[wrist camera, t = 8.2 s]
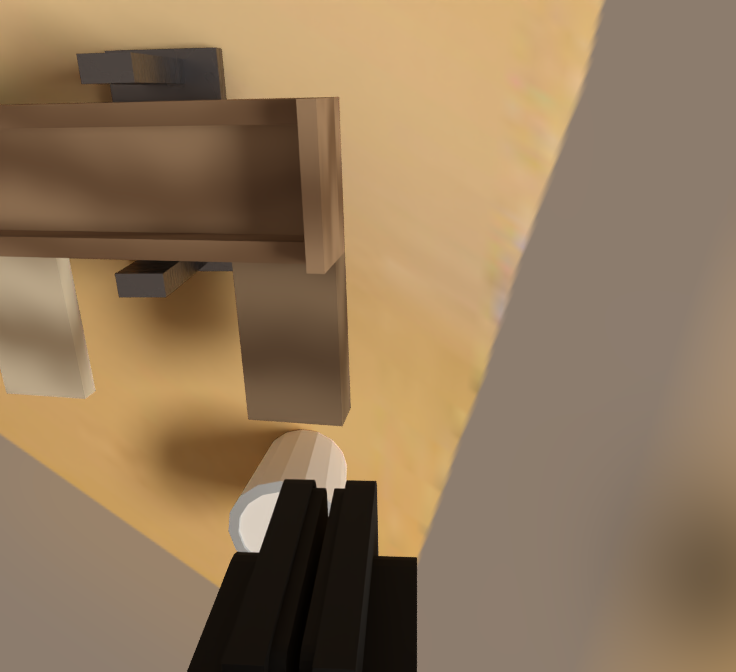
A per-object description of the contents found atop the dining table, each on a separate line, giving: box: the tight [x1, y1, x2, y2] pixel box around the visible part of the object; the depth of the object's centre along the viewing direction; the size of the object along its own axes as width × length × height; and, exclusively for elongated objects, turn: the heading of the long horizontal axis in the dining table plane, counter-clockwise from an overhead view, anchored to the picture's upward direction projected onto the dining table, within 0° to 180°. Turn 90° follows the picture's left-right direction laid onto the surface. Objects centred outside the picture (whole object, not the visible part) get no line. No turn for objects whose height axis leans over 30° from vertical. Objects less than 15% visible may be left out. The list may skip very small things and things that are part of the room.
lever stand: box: [77, 48, 233, 297], centre depth 33 cm, size 12×6×8 cm, turn 1°
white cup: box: [229, 429, 347, 552], centre depth 40 cm, size 7×7×7 cm
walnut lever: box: [0, 97, 351, 426], centre depth 31 cm, size 16×20×4 cm
